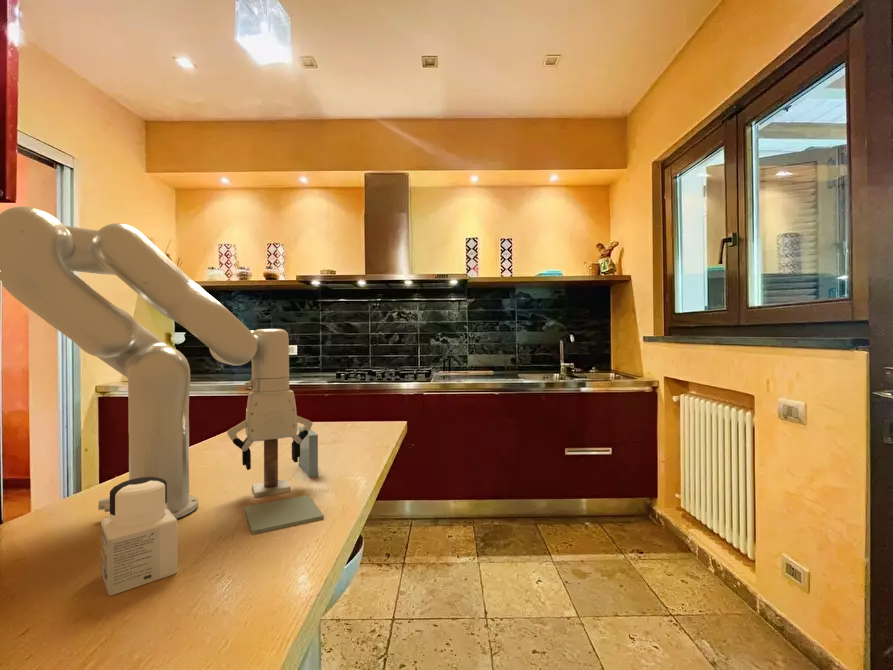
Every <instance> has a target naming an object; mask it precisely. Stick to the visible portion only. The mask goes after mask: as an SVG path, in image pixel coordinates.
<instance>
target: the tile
mask: <svg viewBox="0 0 893 670" xmlns="http://www.w3.org/2000/svg"><path fill="white" fill-rule="evenodd" d="M303 427H304V425H301V426H298V434H299V433H300V432H301V431H302V430H303ZM318 438H319V435H318V433H316V432H315V431H314V430H312V428H310V430H309V432H308V435H307V436H306V437H305V438H304V439H303V440H302V442H301V443H300V457H298V466H299V467H300V469H301V470H302V469H303V470H302V471H303V472H304V473H305V475H306V474H307V475H306V476H307V477H308V478H309V479H310V478H316V477H317V478H318V477H319V439H318Z"/></svg>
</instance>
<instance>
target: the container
mask: <svg viewBox="0 0 893 670" xmlns="http://www.w3.org/2000/svg"><path fill="white" fill-rule="evenodd" d="M109 498H110V511H109V517H106V518H104V519H102V520H101V522H100V573H101V576H102V577H101V578H102V579H103V582H104V585H105V589H106V592H107V594H108V596H114V595H117V594H120V593H122V592H126V591H128V590H129V591H130V590H131V589H135V588H138V587H140V586H141V587H142V586H144V585H146V584H150V583H153V582H156V581H158V580H162V579H165V578H167V577H170V576H173V575H175V574H177V572H178V518H177V519H176V518H175V517H174V516H173V514H172V513H171V512H170V511H169V510H168V509H167V482H166V481H165V480H164V479H162V478H157V477H142V478H136V479H131V480H129V479H128V480H125V481H122V482H121V483H118V484H117V485H115V486H113V487H112V489H111V490H110V491H109Z"/></svg>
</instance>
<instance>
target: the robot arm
mask: <svg viewBox="0 0 893 670" xmlns="http://www.w3.org/2000/svg"><path fill="white" fill-rule="evenodd" d="M0 270H1V272H0V280H1V281H2V285H1V286H2V287H3V288H4V289H5V290H6V291H7V292H8V293H9V294H10V295H11V296H12V297H13V298H14V299H15V300H17V301H18V302H19V303H21V304H22V305H23V306H24V307H26V308H28V310H30V311H31V312H33V313H35V314H36V315H37V316H38V317H40V318H41V319H43V321H45V322H46V323H47V324H48V325H50V326H52V327H53V329H56V330H57V331H58V332H60V333H61V334H63V335H64V336H66V337H67V338H68V339H69V340H71V342H73V343H74V344H76V346H78V348H79V349H81V350H82V351H84V352H85V353H86V354H88V355H91V356H94V357H96V358H98V359H99V360H100V361H102V362H104V363H105V364H106V365H108V366H109V367H111V368H112V369H114V370H115V371H117V372H118V373H119V374H121V375H122V376H124V377H125V378H126V379H127V397H128V403H127V404H128V405H127V406H128V419H127V420H128V427H127V428H128V480H131V479H136V478H142V477H157V478H162V479H164V480H165V481H166V482H167V509H168V510H169V511H170V512H171V513H172V514H173V516H174V517H175V518H176V519H177V520H178V519H179V518H182V517H185V516H187V515H189V514H190V513H192V512H194V511H195V510H196V509H197V508H198V506H199V499H198V497H197V496H195V495H192V494H190V419H189V418H190V416H189V415H190V414H189V413H190V408H189V407H190V390H191V389H190V388H191V368H190V364H189V361H188V359H187V357H185V355H184V354H183V353H182V352H181V351H180V350H178V349H176V348H174V347H173V346H172V347H171V346H170V345H168V344H167V343H166V342H164V341H163V340H161V338H159V337H158V336H157V335H156V334H154V333H153V332H152V331H150V330H149V329H147V328H146V327H145V326H144V325H142V324H141V323H140V322H138V321H137V320H136V319H134V318H135V317H133V316H132V315H131V314H130V313H129V312H127V311H126V310H124V309H123V308H120V307H118V306H117V305H115V304H113V303H112V302H111V301H110V300H108V299H106V297H104V296H102V295H101V293H99V292H97V291H96V290H95V289H93V287H92V286H90V285H89V284H87V283H86V282H85V281H84V280H83V279H82V278H80V277H79V276H78V275H76V274H75V273H74V272H77V273H78V272H79V273H87V274H88V273H89V274H99V275H109V276H110V275H115V276H116V277H117V278H119V279H120V280H121V281H122V282H124V284H126V285H127V286H128V287H129V288H131V290H133V292H135V293H136V294H137V295H138V296H140V297H141V298H142V299H143V300H144V301H145V302H146V303H148V304H149V305H150V306H151V307H152V308H154V309H155V310H156V311H157V312H159V313H160V314H162V315H163V316H165V317H166V318H167V319H171V320H172V321H174V322H176V323H177V324H178V325H179V326H182V327H183V328H185V329H186V330H187V331H188V332H190V334H192V335H194V337H195V338H197V339H198V340H199V341H200V342H202V343H203V344H204V345H205V346H206V347H207V348H209V349H208V350H209V353H210V355H211V356H212V357H213V358H214V359H215V361H218V362H219V363H222V364H226V365H229V366H230V365H231V366H243V365H245V364H247V363H249V362H251V379H250V380H248V381H244V389H250V390H251V392H249V393H248V397H247V403H246V408H245V409H246V411H245V420H242V421H241V422H239V423H238V424H236V425H235V426H232V427H231V428H229V429H228V430H227V432H226V433H227V436H228V437H229V439H230V440H231V442H232V443H233V445H235V447H238V448H239V449H241V451H242V453H241V457H242V466H245V468H246V470H247V471H249V470H251V469H252V459H251V457H252V455H251V449H250V447H251V446H252V444H253V443H254V442H264V441H265V440H273V439H278V440H280V439H287V438H291V439H292V442H291V460H292V462H294V463H299V457H300V443H301V442H302V440H303V439H304V438H305V437H306V436H307V435H308V432H309V430H310V429H312V426H313V425H314V424H313V422H312V421H311V420H310V419H306V418H304V417H302V416H299V415H298V414H297V413H298V412H297V406H296V405H297V404H296V397H295V393H294V390H292V389H290V348H289V347H290V345H289V344H290V343H289V342H290V341H289V340H290V339H289V333H288V332H287V331H286V329H283V328H259V329H258V328H257V329H255V330H250V329H249V327H247V326H246V325H245V324H244V323H243V322H242V321H241V320H240V319H238V317H236V315H234V314H233V313H232V312H231V311H230V310H229V309H228V308H227V307H225V306H224V305H223V304H222V303H221V302H220V301H218V300H217V299H216V298H215V297H214V296H212V295H211V294H209V292H207V290H205V289H204V288H203V287H202V286H201V285H200V284H199V283H197V282H196V281H195V280H193V279H192V278H191V277H190V276H189V275H187V273H185V272H184V271H183V270H182V268H180V267H179V266H178V265H177V264H176V263H175V262H173V260H172V259H170V258H169V257H168V256H167V255H166V253H164V252H163V251H162V250H161V249H160V248H159V247H158V246H157V245H155V244H154V243H153V242H152V241H151V240H150V239H149V238H148V237H147V236H146V235H144V233H142V232H141V231H140V230H138V229H137V228H135V227H134V226H131V225H129V224H127V223H121V222H119V223H118V222H116V223H110V224H106V225H105V226H102V227H101V228H99V229H97V230H96V229H88V228H83V227H77V226H69V225H64V224H63V223H62V222H61V221H60V220H59V219H58V218H57V217H55V215H52V214H50V213H49V212H47V211H44V210H42V209H40V208H36V207H32V206H14V207H10V208H7V209H5V210H4V211H2V212H0ZM298 424H302V426H304V427H303V430H302V431H301V432H300V433H299V432H298V431H299V426H298ZM244 429H245V435H246V437H245V439H244V440H241V439H240V438H239V437H238V436H237V434H238V433H239V432H241V431H243V430H244ZM103 510H104V513H107V512H109V513H110V497H107V498H106V497H105V498H100V499H99V500H98V511H103Z"/></svg>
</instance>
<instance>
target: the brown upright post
mask: <svg viewBox="0 0 893 670" xmlns="http://www.w3.org/2000/svg"><path fill="white" fill-rule="evenodd" d="M291 489H292V488H291V485H290V483H289V482H288V480H287V479H286V478H284V479H283V478H282V479H279V439H273V440H265V441H263V482H258V483H253V484H251V490H252V493H253V496H254V498H261V497H266V496H273V495H277V494H282V493H284V494H285V493H289V492H291Z"/></svg>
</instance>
